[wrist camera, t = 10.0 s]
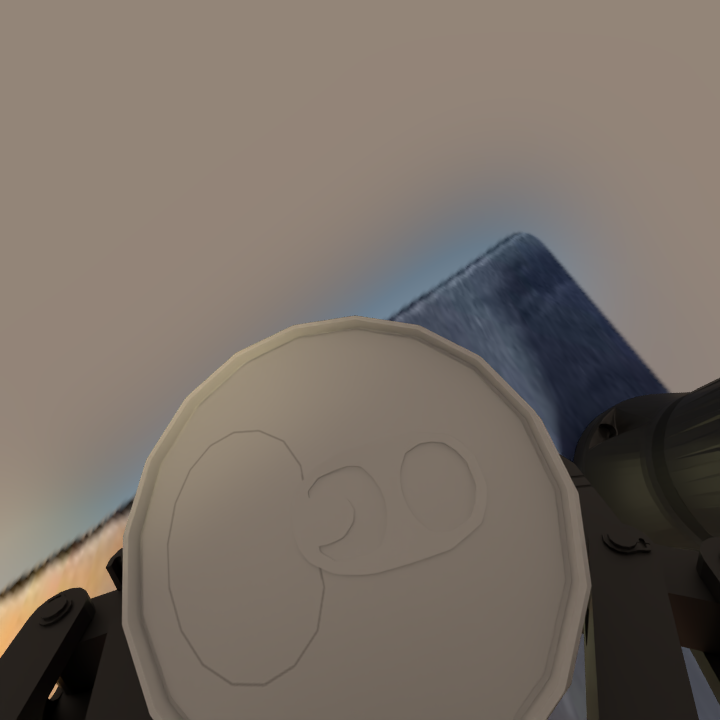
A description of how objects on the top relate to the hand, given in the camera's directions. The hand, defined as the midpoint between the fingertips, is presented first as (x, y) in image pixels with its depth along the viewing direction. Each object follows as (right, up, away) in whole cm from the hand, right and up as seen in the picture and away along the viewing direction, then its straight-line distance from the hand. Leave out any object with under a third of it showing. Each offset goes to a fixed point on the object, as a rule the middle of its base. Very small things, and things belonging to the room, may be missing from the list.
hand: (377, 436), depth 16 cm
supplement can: (+1, -5, +4) cm, 7 cm away
